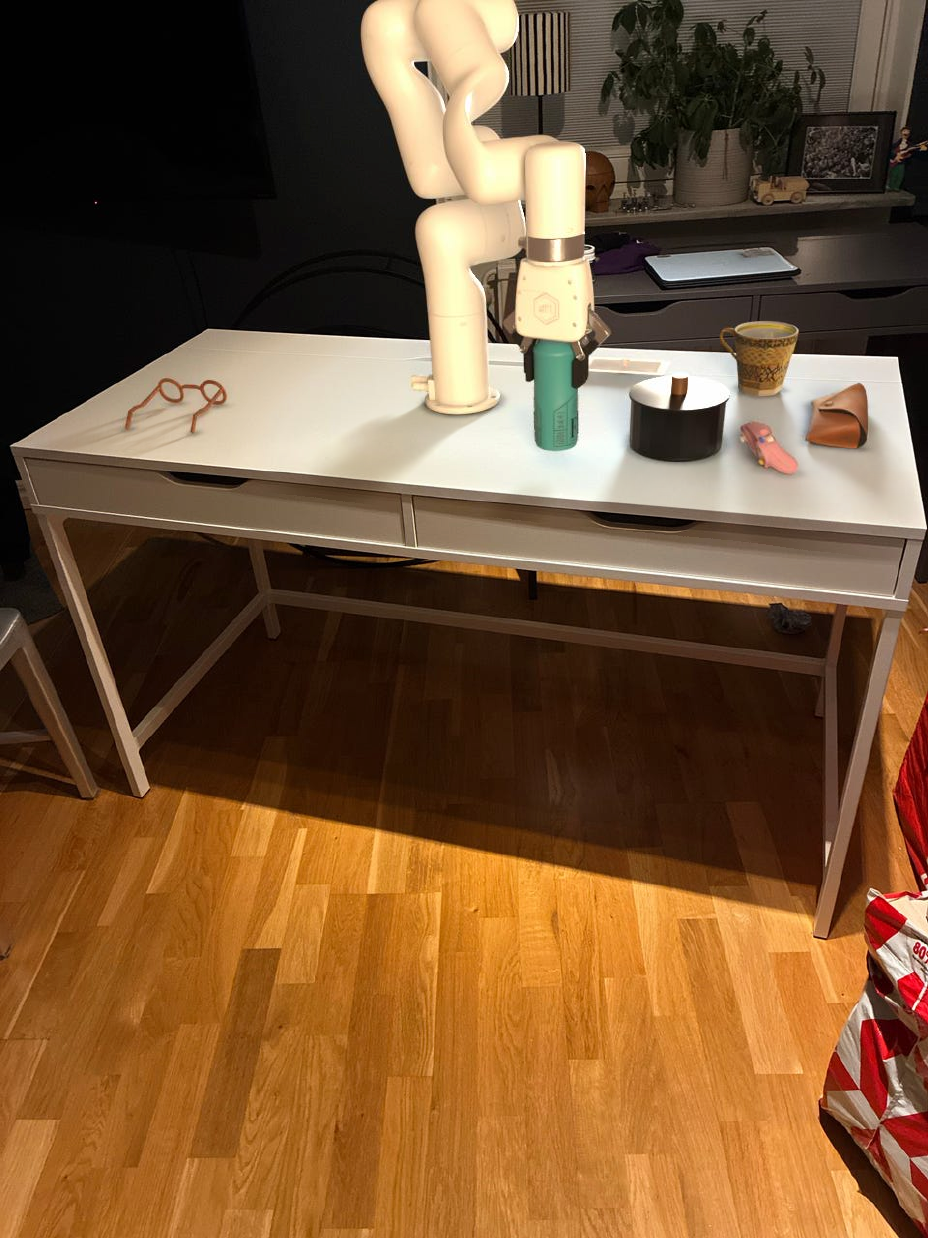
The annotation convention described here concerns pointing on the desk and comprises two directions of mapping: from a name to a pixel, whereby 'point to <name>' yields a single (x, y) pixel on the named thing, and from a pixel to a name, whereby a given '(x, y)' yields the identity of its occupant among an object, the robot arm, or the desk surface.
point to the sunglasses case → (840, 419)
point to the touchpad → (628, 365)
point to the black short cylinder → (676, 434)
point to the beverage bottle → (554, 396)
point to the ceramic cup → (762, 355)
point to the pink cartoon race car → (767, 447)
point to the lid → (679, 394)
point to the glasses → (201, 388)
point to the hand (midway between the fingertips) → (555, 381)
